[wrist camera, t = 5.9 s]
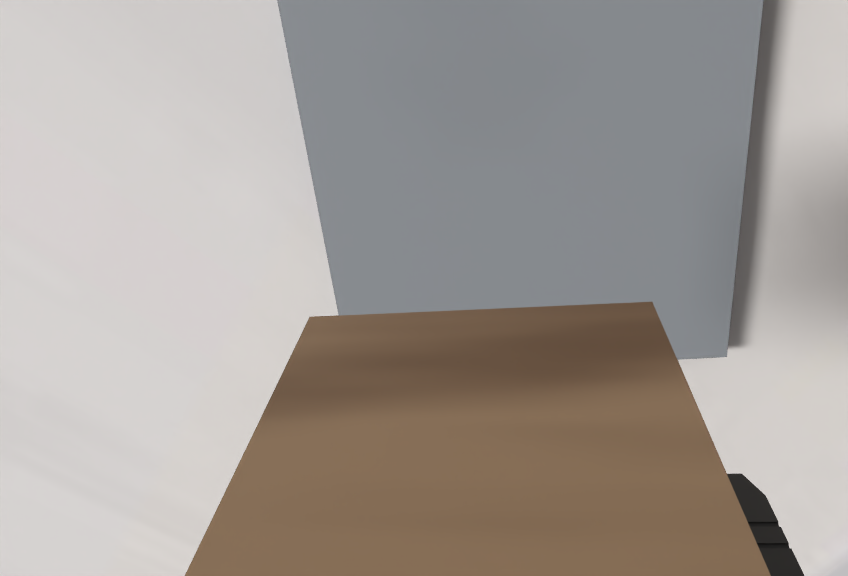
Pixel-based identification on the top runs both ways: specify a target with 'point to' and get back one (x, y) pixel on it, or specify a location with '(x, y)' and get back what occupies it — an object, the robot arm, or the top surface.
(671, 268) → the slate plate
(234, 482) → the walnut block
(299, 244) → the top surface
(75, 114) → the top surface
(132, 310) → the top surface
